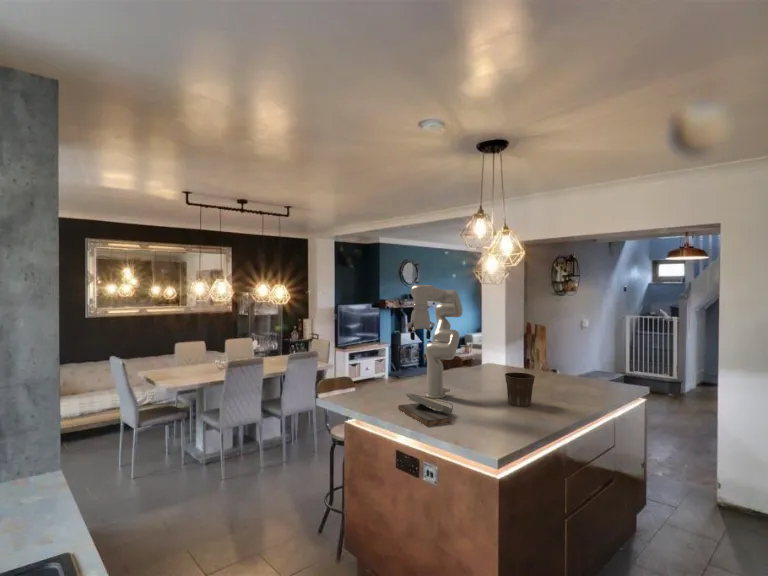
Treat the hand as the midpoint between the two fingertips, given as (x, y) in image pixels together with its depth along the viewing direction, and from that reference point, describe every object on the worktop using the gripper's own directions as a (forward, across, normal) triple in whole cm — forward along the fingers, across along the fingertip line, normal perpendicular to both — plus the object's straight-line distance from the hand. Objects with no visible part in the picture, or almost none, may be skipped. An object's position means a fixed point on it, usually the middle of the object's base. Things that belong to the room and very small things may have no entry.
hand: (420, 339), depth 240 cm
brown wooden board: (+35, +10, +20) cm, 42 cm away
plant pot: (+36, -51, +20) cm, 66 cm away
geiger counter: (+28, +9, +18) cm, 34 cm away
